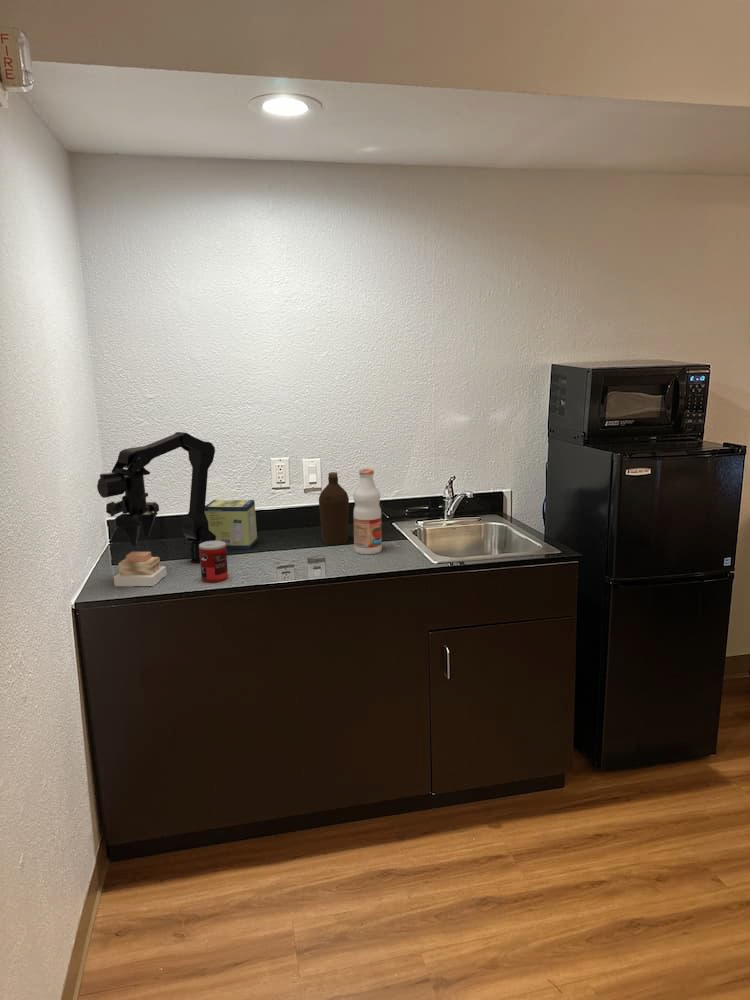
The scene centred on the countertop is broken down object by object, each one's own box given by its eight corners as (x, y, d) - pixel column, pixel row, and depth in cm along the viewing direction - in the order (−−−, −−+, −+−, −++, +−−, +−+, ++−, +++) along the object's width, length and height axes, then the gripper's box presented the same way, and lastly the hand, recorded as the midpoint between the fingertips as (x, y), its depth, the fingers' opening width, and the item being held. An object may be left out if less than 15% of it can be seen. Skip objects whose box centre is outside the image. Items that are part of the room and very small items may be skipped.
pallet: (160, 568, 209) (159, 556, 208) (151, 575, 203) (150, 563, 202) (129, 567, 210) (127, 556, 209) (119, 574, 204) (118, 563, 203)
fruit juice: (355, 546, 238) (353, 467, 232) (382, 546, 237) (381, 467, 231) (353, 554, 229) (350, 473, 222) (381, 555, 228) (379, 472, 222)
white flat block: (166, 575, 211) (165, 566, 211) (153, 586, 202) (152, 577, 201) (129, 575, 213) (128, 565, 212) (114, 586, 203) (113, 576, 202)
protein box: (216, 541, 248) (212, 499, 245) (257, 541, 247) (255, 499, 243) (206, 549, 238) (203, 506, 235) (250, 549, 237) (247, 506, 233)
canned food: (203, 575, 211) (200, 541, 209) (229, 573, 212) (227, 539, 210) (199, 583, 204) (196, 548, 201) (226, 582, 205) (224, 547, 202)
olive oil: (351, 544, 240) (349, 475, 235) (321, 546, 239) (319, 476, 233) (348, 536, 251) (346, 469, 245) (319, 538, 249) (316, 471, 243)
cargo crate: (151, 558, 207) (150, 551, 207) (146, 562, 204) (145, 555, 203) (132, 557, 208) (131, 551, 208) (126, 561, 204) (126, 555, 204)
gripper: (122, 484, 213) (128, 532, 217) (94, 498, 195) (100, 550, 199) (157, 484, 212) (162, 532, 216) (131, 498, 194) (137, 550, 198)
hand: (140, 541), depth 207 cm, fingers open, 9 cm apart
